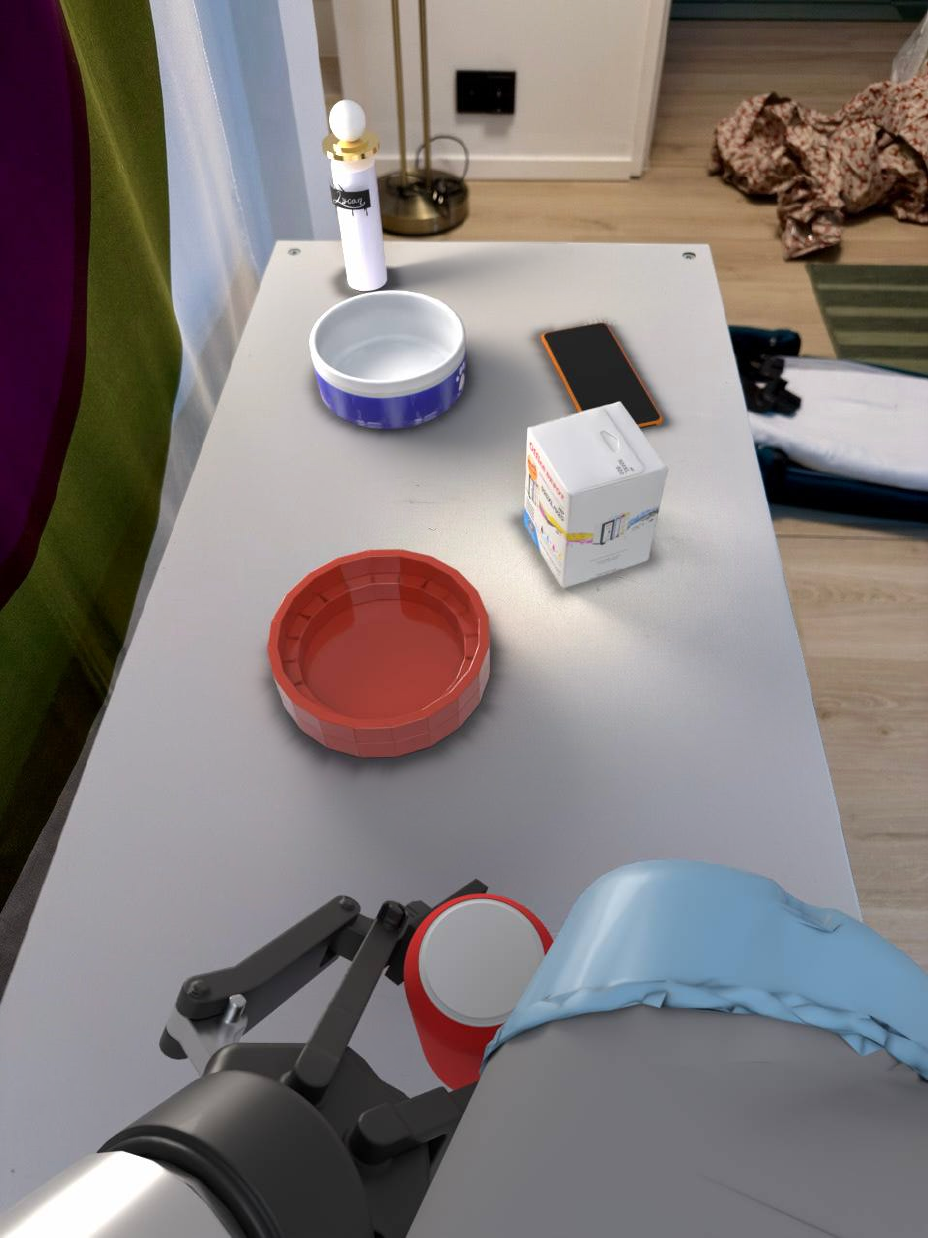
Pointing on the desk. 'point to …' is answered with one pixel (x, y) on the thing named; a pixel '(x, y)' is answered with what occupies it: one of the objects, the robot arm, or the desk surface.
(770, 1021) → the robot arm
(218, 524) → the desk surface
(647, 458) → the ink box
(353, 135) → the perfume bottle
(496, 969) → the beverage can
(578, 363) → the smartphone
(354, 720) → the red bowl
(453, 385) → the dog bowl
